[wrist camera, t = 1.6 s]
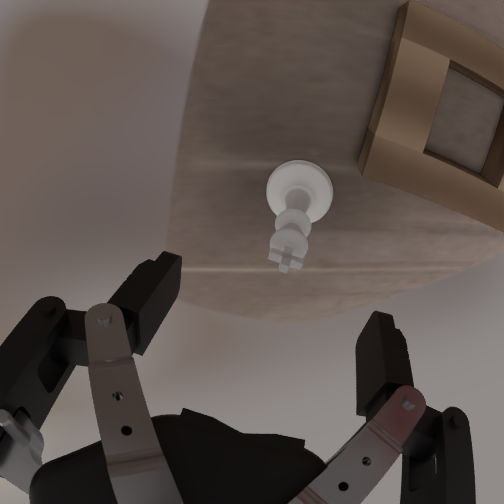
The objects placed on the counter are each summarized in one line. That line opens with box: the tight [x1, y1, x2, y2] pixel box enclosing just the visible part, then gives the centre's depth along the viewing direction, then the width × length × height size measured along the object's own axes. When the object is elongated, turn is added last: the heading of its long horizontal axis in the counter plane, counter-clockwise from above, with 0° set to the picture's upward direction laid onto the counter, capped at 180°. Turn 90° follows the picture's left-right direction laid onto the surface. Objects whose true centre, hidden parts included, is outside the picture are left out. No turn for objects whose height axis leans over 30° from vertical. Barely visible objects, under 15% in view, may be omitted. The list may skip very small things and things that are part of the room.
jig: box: [357, 0, 504, 232], centre depth 16 cm, size 12×13×3 cm
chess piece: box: [266, 160, 333, 274], centre depth 19 cm, size 5×5×10 cm
